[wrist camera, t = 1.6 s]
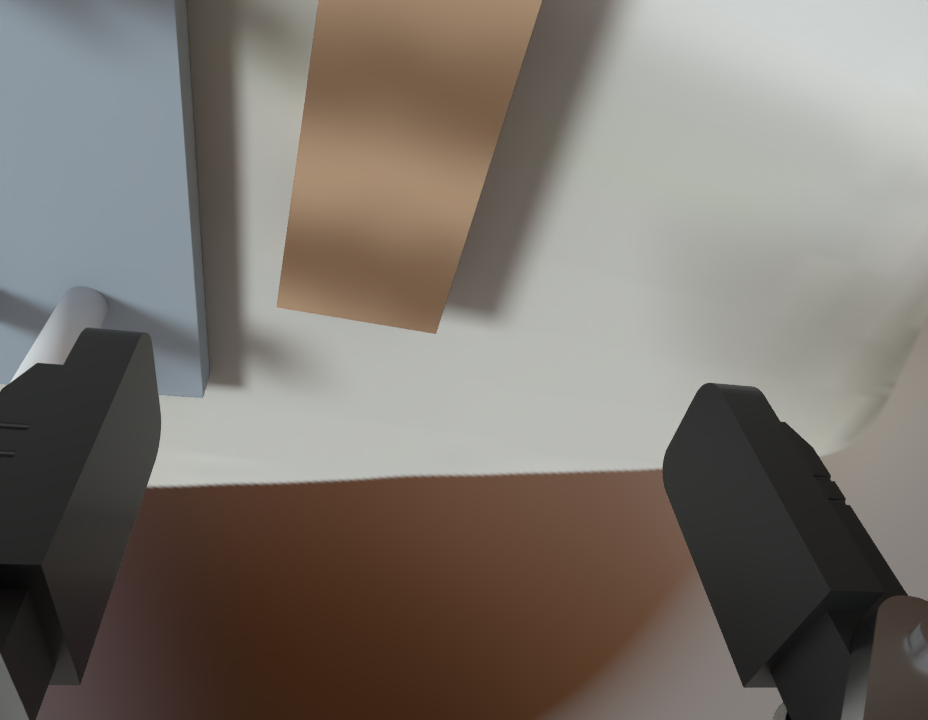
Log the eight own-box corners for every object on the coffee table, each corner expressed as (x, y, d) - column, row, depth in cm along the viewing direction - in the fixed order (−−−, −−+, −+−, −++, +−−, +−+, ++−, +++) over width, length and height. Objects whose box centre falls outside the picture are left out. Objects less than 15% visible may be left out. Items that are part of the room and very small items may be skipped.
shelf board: (372, -355, 17) (370, -379, 15) (593, -266, 19) (628, -272, 16) (286, 256, 28) (276, 307, 25) (430, 283, 30) (435, 333, 27)
